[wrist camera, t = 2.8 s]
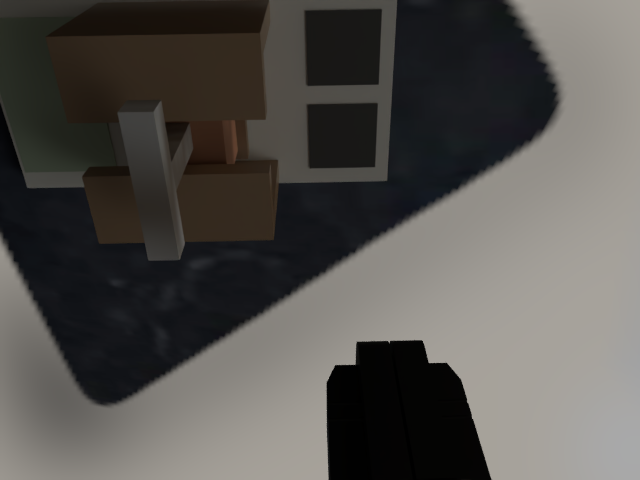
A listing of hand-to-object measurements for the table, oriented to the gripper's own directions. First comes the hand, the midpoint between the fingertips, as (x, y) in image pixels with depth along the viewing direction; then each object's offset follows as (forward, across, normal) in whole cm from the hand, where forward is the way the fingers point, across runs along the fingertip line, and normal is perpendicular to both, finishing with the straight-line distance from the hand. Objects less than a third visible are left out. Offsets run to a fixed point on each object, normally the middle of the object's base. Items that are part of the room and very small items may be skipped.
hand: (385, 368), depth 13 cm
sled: (+19, +8, 0) cm, 20 cm away
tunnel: (+21, +8, 0) cm, 22 cm away
